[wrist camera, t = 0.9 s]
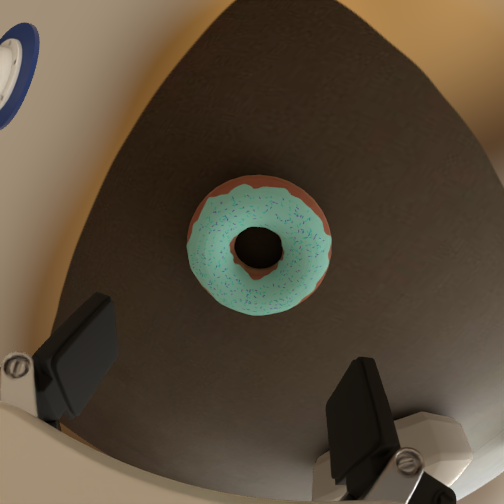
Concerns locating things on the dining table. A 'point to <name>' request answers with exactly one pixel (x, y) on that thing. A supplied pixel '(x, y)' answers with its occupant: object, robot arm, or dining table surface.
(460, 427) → the pot
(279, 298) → the donut
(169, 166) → the dining table surface
